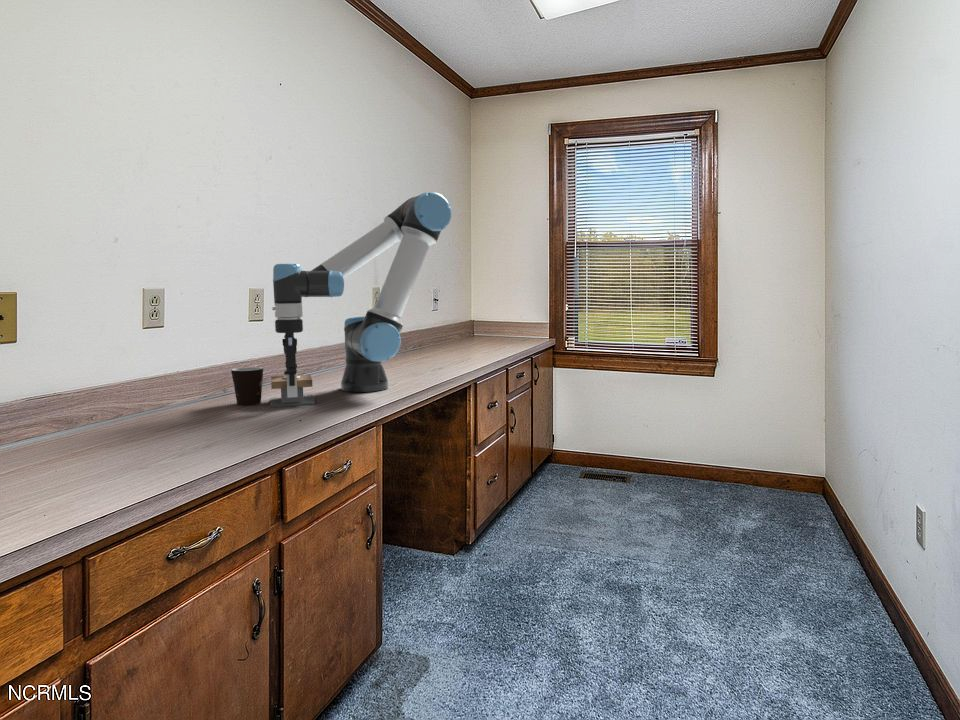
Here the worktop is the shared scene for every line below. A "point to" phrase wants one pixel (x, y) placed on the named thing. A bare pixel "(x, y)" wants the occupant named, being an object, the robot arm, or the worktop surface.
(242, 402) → the coffee mug
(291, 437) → the worktop surface
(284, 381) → the lid
